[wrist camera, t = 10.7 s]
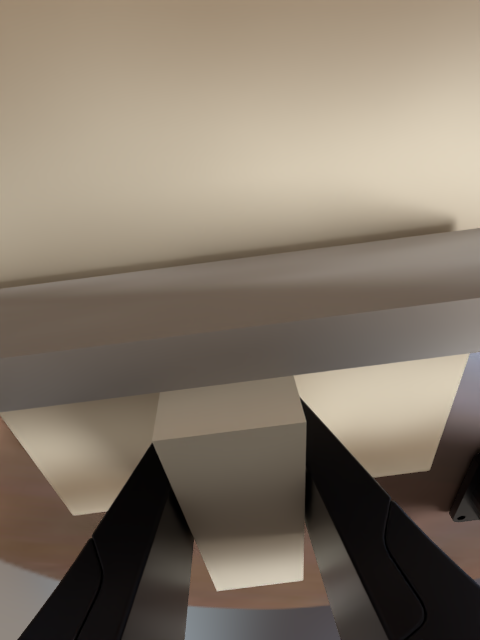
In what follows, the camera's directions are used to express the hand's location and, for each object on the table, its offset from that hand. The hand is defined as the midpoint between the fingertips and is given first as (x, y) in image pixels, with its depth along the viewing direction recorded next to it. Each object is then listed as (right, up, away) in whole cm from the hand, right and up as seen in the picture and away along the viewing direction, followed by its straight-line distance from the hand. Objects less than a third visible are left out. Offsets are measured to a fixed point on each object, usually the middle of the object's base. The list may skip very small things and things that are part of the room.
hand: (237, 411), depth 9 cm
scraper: (0, 0, +1) cm, 1 cm away
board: (0, +4, +3) cm, 4 cm away
